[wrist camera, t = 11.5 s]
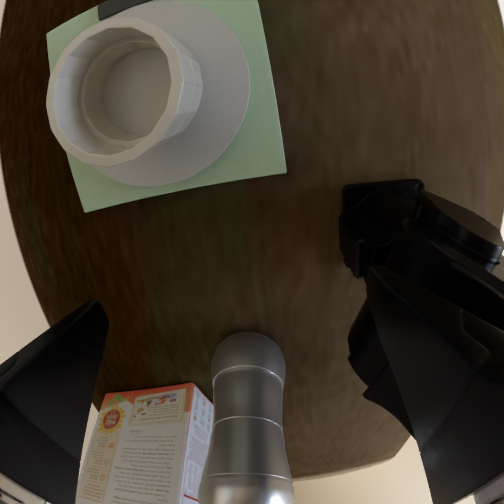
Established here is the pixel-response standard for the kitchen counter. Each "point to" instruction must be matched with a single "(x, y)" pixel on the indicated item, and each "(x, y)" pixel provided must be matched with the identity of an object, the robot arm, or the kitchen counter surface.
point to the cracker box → (148, 447)
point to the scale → (210, 108)
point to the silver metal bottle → (247, 425)
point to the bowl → (122, 91)
